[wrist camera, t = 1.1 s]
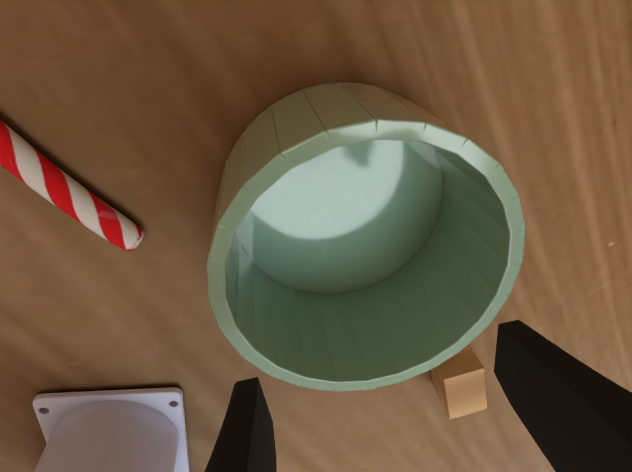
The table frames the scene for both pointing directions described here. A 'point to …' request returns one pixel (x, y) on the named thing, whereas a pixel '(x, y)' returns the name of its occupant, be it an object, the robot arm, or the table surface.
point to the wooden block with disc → (460, 384)
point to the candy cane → (65, 191)
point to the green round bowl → (359, 239)
